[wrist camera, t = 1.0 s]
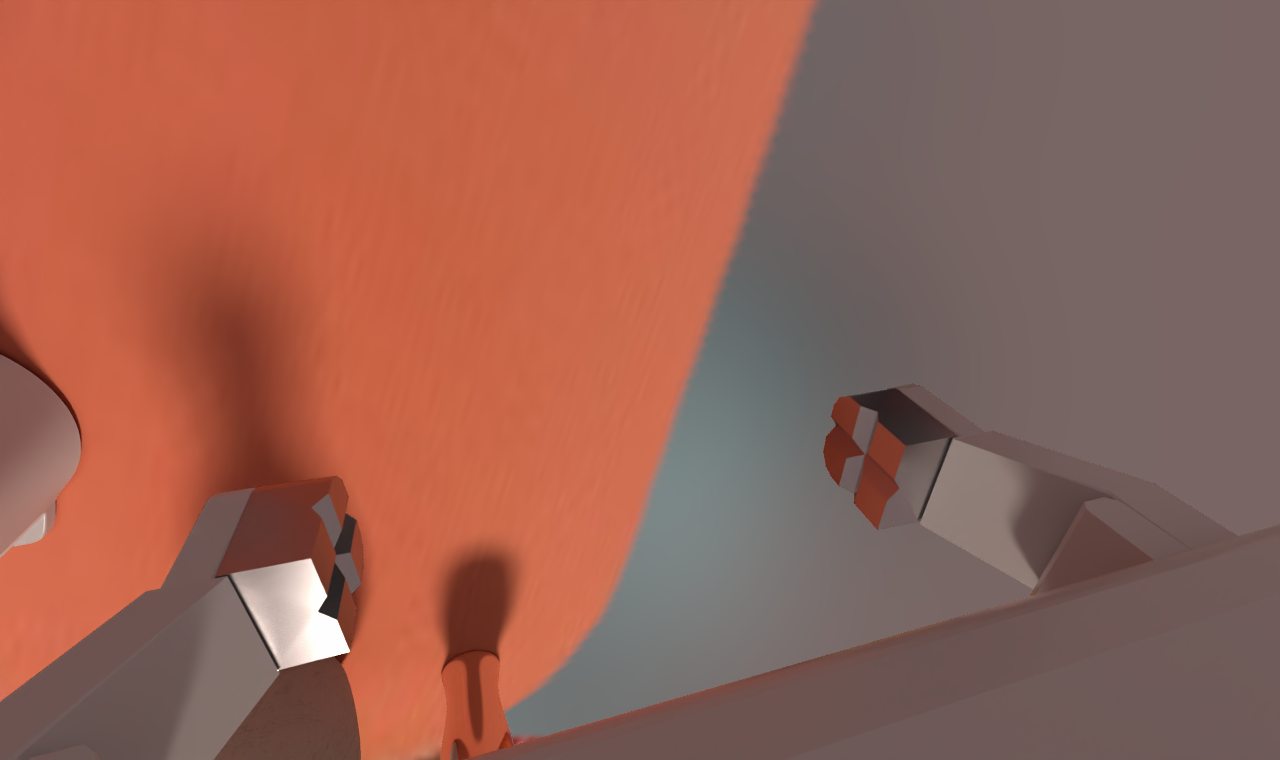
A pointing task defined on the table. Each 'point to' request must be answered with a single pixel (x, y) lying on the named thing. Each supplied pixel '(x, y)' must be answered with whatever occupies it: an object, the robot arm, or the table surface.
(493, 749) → the beer glass
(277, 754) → the bowling pin
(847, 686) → the robot arm
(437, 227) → the table surface
